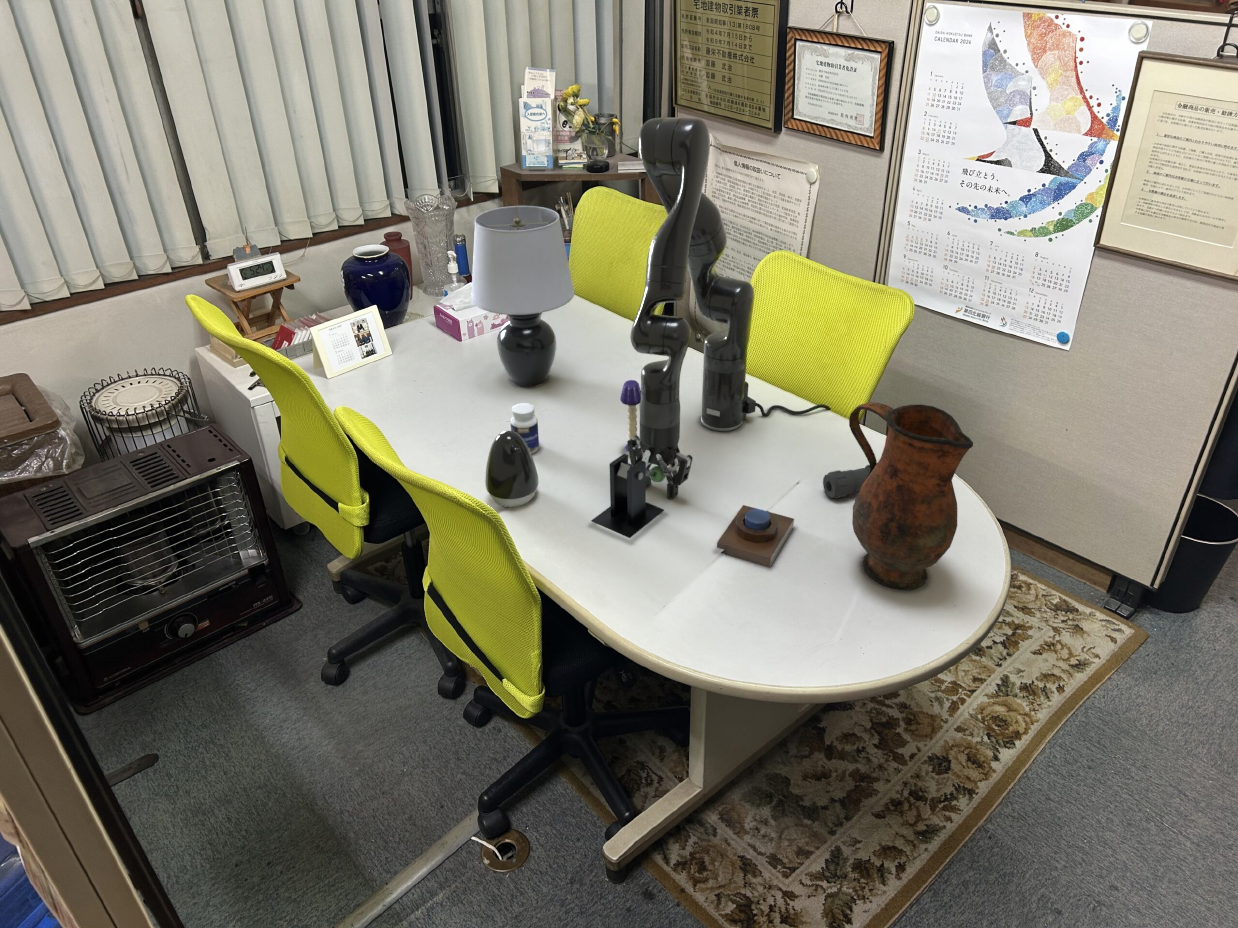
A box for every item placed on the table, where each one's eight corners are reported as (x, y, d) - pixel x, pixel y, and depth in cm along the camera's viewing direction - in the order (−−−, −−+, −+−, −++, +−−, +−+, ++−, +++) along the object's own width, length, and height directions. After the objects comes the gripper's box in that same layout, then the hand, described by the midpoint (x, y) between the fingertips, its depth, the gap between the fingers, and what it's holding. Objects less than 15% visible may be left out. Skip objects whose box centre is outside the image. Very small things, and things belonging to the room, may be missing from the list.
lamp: (596, 371, 221) (591, 212, 200) (539, 411, 204) (527, 241, 183) (520, 351, 232) (508, 197, 211) (460, 387, 215) (440, 224, 194)
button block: (742, 514, 169) (743, 496, 167) (793, 528, 165) (795, 510, 163) (716, 551, 159) (717, 533, 157) (769, 567, 155) (771, 549, 153)
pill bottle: (520, 458, 187) (516, 417, 182) (508, 446, 191) (504, 406, 186) (544, 450, 189) (541, 409, 184) (531, 439, 194) (528, 398, 188)
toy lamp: (640, 459, 186) (640, 388, 177) (619, 457, 187) (617, 386, 178) (644, 448, 190) (645, 378, 181) (623, 446, 191) (622, 376, 182)
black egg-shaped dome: (499, 521, 168) (491, 452, 160) (480, 493, 176) (472, 427, 168) (548, 506, 172) (543, 438, 164) (527, 480, 180) (522, 414, 172)
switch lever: (652, 479, 173) (657, 464, 173) (665, 484, 172) (670, 469, 171) (614, 476, 162) (619, 459, 161) (628, 481, 160) (633, 465, 160)
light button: (749, 514, 162) (750, 506, 161) (772, 520, 161) (773, 512, 160) (741, 527, 159) (741, 519, 158) (764, 533, 157) (765, 525, 156)
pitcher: (910, 616, 144) (943, 459, 128) (805, 556, 157) (824, 407, 142) (965, 573, 153) (1002, 421, 137) (861, 519, 167) (884, 376, 151)
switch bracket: (626, 498, 174) (626, 442, 167) (664, 514, 169) (665, 457, 162) (591, 525, 166) (589, 467, 159) (629, 542, 162) (629, 484, 155)
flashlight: (832, 505, 171) (835, 481, 168) (819, 490, 175) (821, 467, 172) (902, 490, 175) (906, 467, 172) (887, 476, 179) (891, 453, 176)
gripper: (703, 420, 164) (700, 496, 173) (640, 398, 171) (640, 472, 180) (680, 436, 159) (678, 514, 168) (616, 414, 166) (618, 489, 175)
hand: (658, 492), depth 174 cm, fingers open, 5 cm apart
